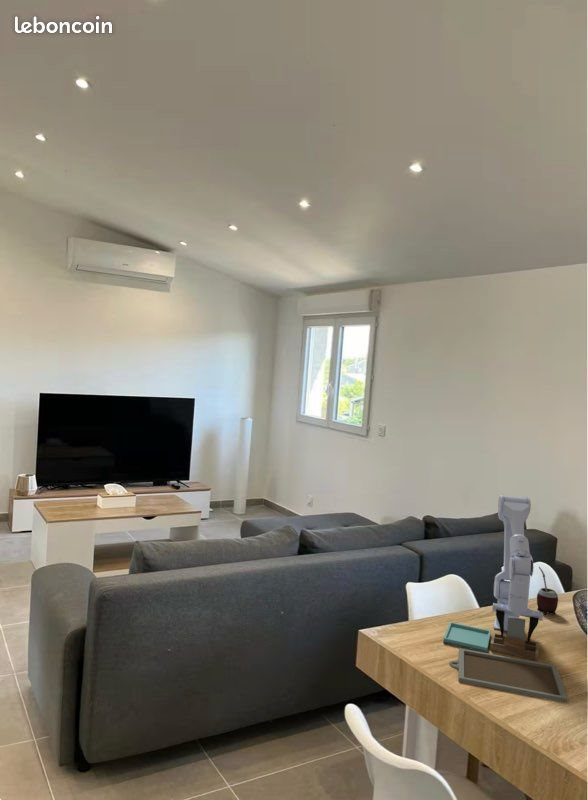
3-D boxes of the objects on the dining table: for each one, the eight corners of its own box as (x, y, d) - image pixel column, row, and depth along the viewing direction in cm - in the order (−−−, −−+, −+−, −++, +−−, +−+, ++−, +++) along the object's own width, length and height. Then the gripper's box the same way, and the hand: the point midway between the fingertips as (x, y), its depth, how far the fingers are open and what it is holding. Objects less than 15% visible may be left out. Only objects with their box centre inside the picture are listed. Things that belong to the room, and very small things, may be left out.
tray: (449, 626, 197) (450, 621, 197) (490, 635, 192) (491, 630, 192) (443, 642, 184) (443, 638, 184) (486, 652, 179) (487, 647, 179)
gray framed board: (568, 698, 153) (448, 675, 162) (567, 704, 154) (448, 681, 162) (556, 665, 172) (449, 646, 180) (556, 670, 172) (449, 651, 180)
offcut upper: (504, 642, 184) (504, 636, 184) (524, 646, 182) (525, 640, 181) (503, 646, 181) (503, 639, 181) (524, 650, 179) (525, 644, 179)
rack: (492, 639, 189) (492, 632, 189) (538, 649, 184) (538, 642, 184) (490, 650, 182) (490, 643, 181) (537, 660, 176) (538, 653, 176)
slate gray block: (506, 643, 187) (508, 615, 186) (523, 647, 185) (525, 619, 185) (505, 646, 185) (508, 618, 185) (523, 650, 183) (525, 621, 183)
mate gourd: (555, 617, 211) (558, 576, 211) (531, 611, 215) (535, 571, 215) (558, 611, 218) (561, 571, 217) (535, 605, 222) (538, 566, 221)
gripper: (493, 594, 183) (489, 637, 184) (544, 603, 178) (540, 648, 178) (495, 587, 190) (491, 628, 190) (543, 596, 184) (540, 639, 185)
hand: (515, 637), depth 185 cm, fingers open, 7 cm apart
